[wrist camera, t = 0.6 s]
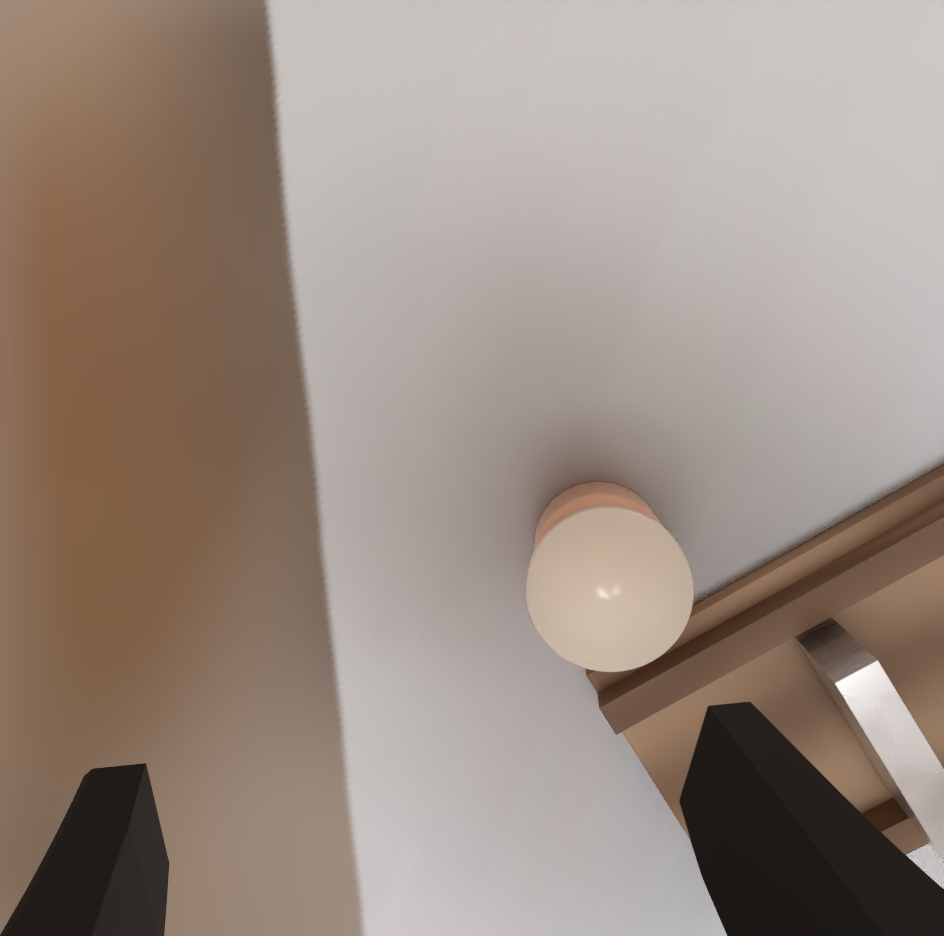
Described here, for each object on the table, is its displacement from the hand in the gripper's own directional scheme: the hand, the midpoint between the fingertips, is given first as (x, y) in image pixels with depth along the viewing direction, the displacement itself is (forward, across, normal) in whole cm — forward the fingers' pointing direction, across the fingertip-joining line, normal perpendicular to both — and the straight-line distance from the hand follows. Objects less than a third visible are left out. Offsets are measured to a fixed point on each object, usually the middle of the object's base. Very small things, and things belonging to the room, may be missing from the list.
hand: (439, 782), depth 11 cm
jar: (+18, -9, +11) cm, 23 cm away
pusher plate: (+12, -18, +15) cm, 27 cm away
